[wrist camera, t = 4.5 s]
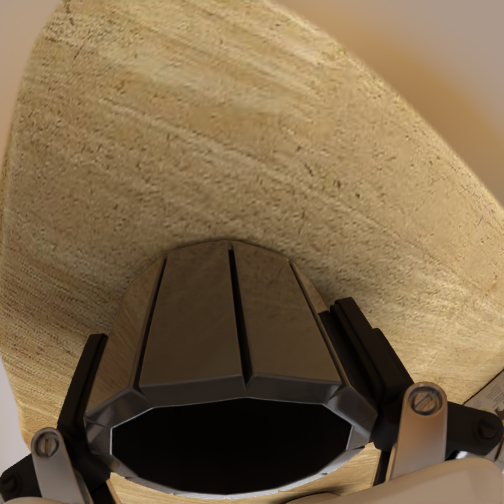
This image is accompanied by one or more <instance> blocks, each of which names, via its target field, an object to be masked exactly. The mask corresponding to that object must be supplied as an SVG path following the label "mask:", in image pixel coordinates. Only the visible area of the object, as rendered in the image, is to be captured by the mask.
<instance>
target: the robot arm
mask: <svg viewBox="0 0 504 504" xmlns="http://www.w3.org/2000/svg"><path fill="white" fill-rule="evenodd" d="M330 315H331V317H332V319H333V321H334V323H335V325H336V326H337V328H338V330H339V332H340V334H341V336H342V338H343V340H344V342H345V344H346V346H347V348H348V350H349V352H350V354H351V356H352V358H353V360H354V362H355V364H356V366H357V368H358V370H359V372H360V374H361V376H362V378H363V380H364V382H365V384H366V386H367V388H368V390H369V392H370V395H371V397H372V399H373V401H374V403H375V405H376V407H377V409H378V412H377V413H378V418H377V421H376V424H375V426H374V429H373V432H372V434H371V437H370V439H369V442H368V443H371V442H373V443H374V445H375V448H377V449H379V454H378V458H377V462H376V466H375V470H374V474H373V478H372V481H371V485H370V488H368V489H365V490H362V491H358V492H355V493H352V494H349V495H345V496H342V497H338V498H335V499H331V500H327V501H323V502H319V503H315V504H504V426H503V423H502V421H501V419H500V418H499V417H498V416H497V415H496V414H493V413H491V412H488V411H483V410H479V409H475V408H472V407H468V406H464V405H460V404H457V403H453V402H449V401H447V396H446V394H445V392H444V390H443V389H442V388H441V387H440V386H438V385H436V384H434V383H432V382H427V381H425V382H418V383H414V382H413V380H412V378H411V377H410V375H409V374H408V372H407V370H406V369H405V367H404V366H403V364H402V362H401V361H400V359H399V358H398V356H397V354H396V353H395V351H394V350H393V348H392V347H391V345H390V343H389V342H388V340H387V339H386V337H385V336H384V334H383V333H382V331H381V330H380V329H378V328H374V329H372V327H371V325H370V324H369V322H368V321H367V319H366V318H365V316H364V315H363V313H362V311H361V310H360V308H359V307H358V305H357V304H356V302H355V301H354V299H353V298H352V297H347V298H343V299H338V300H335V304H334V305H331V306H330ZM107 340H108V336H107V335H106V334H104V333H103V334H91V335H90V336H89V338H88V340H87V343H86V345H85V347H84V350H83V352H82V355H81V357H80V360H79V362H78V365H77V367H76V370H75V373H74V375H73V378H72V381H71V384H70V386H69V389H68V392H67V395H66V398H65V401H64V404H63V407H62V410H61V413H60V416H59V419H58V422H57V424H58V425H57V428H56V429H55V428H53V427H46V428H43V429H41V430H39V431H38V432H37V433H36V434H35V435H34V437H33V439H32V441H31V454H29V455H28V456H26V457H25V458H23V459H22V460H20V461H19V462H17V463H16V464H14V465H13V466H11V467H10V468H8V469H7V470H5V471H4V472H3V473H2V475H1V477H0V504H122V503H121V501H120V500H119V498H118V496H117V494H116V492H115V490H114V488H113V485H112V483H111V481H110V473H111V472H114V471H113V470H111V469H110V468H109V467H107V466H106V465H105V464H104V463H102V462H101V461H100V460H99V459H98V458H96V457H95V456H94V455H93V454H92V453H91V452H90V449H88V448H87V443H86V436H85V429H84V421H83V416H84V413H85V409H86V405H87V402H88V399H89V395H90V392H91V388H92V385H93V382H94V379H95V375H96V372H97V369H98V366H99V363H100V360H101V357H102V354H103V351H104V348H105V345H106V343H107ZM114 473H115V472H114Z"/></svg>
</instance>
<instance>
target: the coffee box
mask: <svg viewBox="0 0 504 504" xmlns="http://www.w3.org/2000/svg"><path fill="white" fill-rule="evenodd" d="M464 406H468V407H472V408H475V409H479V410H483V411H488V412H491V413H493V414H496V415H497V416H498V417H499V418H500V419H501V421H502V423H503V426H504V371H503V372H502V373H501V374H500V375H499V376H497V377H496V378H495V379H494V380H493V381H492V382H491V383H490V384H488V385H487V386H486V387H485V388H484V389H483V390H481V391H480V392H479V393H478V394H476V395H475V396H474V397H473V398H471V399H470V400H469V401H467V402H466V403H465V404H464Z"/></svg>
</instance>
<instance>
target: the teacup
mask: <svg viewBox="0 0 504 504" xmlns="http://www.w3.org/2000/svg"><path fill="white" fill-rule="evenodd" d="M338 497H342V496H338V495H335V494H333V493H320V494H315V495H310V496H306V497H302V498H299V499H296V500H293V501H290V502H287V503H285V504H315V503H319V502H323V501H327V500H331V499H335V498H338Z"/></svg>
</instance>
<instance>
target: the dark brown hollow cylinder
mask: <svg viewBox="0 0 504 504" xmlns="http://www.w3.org/2000/svg"><path fill="white" fill-rule="evenodd" d="M377 412H378V409H377V407H376V405H375V403H374V401H373V399H372V397H371V395H370V392H369V390H368V388H367V386H366V384H365V382H364V380H363V378H362V376H361V374H360V372H359V370H358V368H357V366H356V364H355V362H354V360H353V358H352V356H351V354H350V352H349V350H348V348H347V346H346V344H345V342H344V340H343V338H342V336H341V334H340V332H339V330H338V328H337V326H336V325H335V323H334V321H333V319H332V317H331V315H330V313H329V311H328V309H327V307H326V305H325V304H324V302H323V300H322V298H321V296H320V294H319V292H318V291H317V290H316V288H315V287H314V286H313V285H312V284H311V282H310V281H309V280H308V279H307V278H306V277H305V275H304V274H303V273H302V272H301V271H300V269H299V268H298V267H297V266H296V265H295V263H294V262H293V261H292V260H289V261H288V260H287V258H286V257H285V256H284V255H280V254H277V253H274V252H271V251H267V250H265V249H262V248H260V247H256V246H252V245H248V244H245V243H241V242H238V241H235V240H233V241H232V242H227V240H221V241H216V242H209V243H201V244H196V245H192V246H188V247H184V248H179V249H174V250H170V252H169V254H168V255H165V254H163V255H162V256H161V257H159V258H158V259H157V260H156V261H155V262H154V263H153V264H152V265H151V266H149V267H148V268H147V269H146V270H145V271H144V272H143V273H142V274H141V275H140V276H138V277H137V278H136V279H135V280H134V281H133V282H132V283H131V284H130V285H129V288H128V290H127V291H126V293H125V295H124V297H123V300H122V302H121V305H120V308H119V310H118V313H117V315H116V318H115V321H114V323H113V326H112V329H111V331H110V334H109V337H108V340H107V343H106V345H105V348H104V351H103V354H102V357H101V360H100V363H99V366H98V369H97V372H96V375H95V379H94V382H93V385H92V388H91V392H90V395H89V399H88V402H87V405H86V409H85V413H84V416H83V421H84V429H85V436H86V443H87V448H88V449H90V452H91V453H92V454H93V455H94V456H95V457H96V458H98V459H99V460H100V461H101V462H102V463H104V464H105V465H106V466H107V467H109V468H110V469H111V470H113V471H114V472H115V473H116V474H118V475H119V476H123V477H125V479H127V480H129V481H132V482H134V483H137V484H140V485H143V486H145V487H148V488H151V489H154V490H157V491H161V492H164V493H167V494H170V493H173V494H174V495H176V496H185V497H194V498H206V499H222V500H223V499H224V498H226V497H227V498H228V499H239V498H248V497H255V496H263V495H269V494H275V493H278V492H279V490H281V491H286V490H289V489H292V488H295V487H298V486H300V485H303V484H306V483H308V482H311V481H314V480H316V479H319V478H321V477H323V476H326V475H327V473H330V472H334V471H335V470H336V469H338V468H339V467H341V466H342V465H343V464H345V463H346V462H347V461H349V460H350V459H351V458H352V457H354V456H355V455H356V454H358V453H359V452H360V451H361V450H363V449H364V448H365V446H364V445H366V444H368V442H369V439H370V437H371V434H372V432H373V429H374V426H375V424H376V421H377V418H378V413H377Z"/></svg>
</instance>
